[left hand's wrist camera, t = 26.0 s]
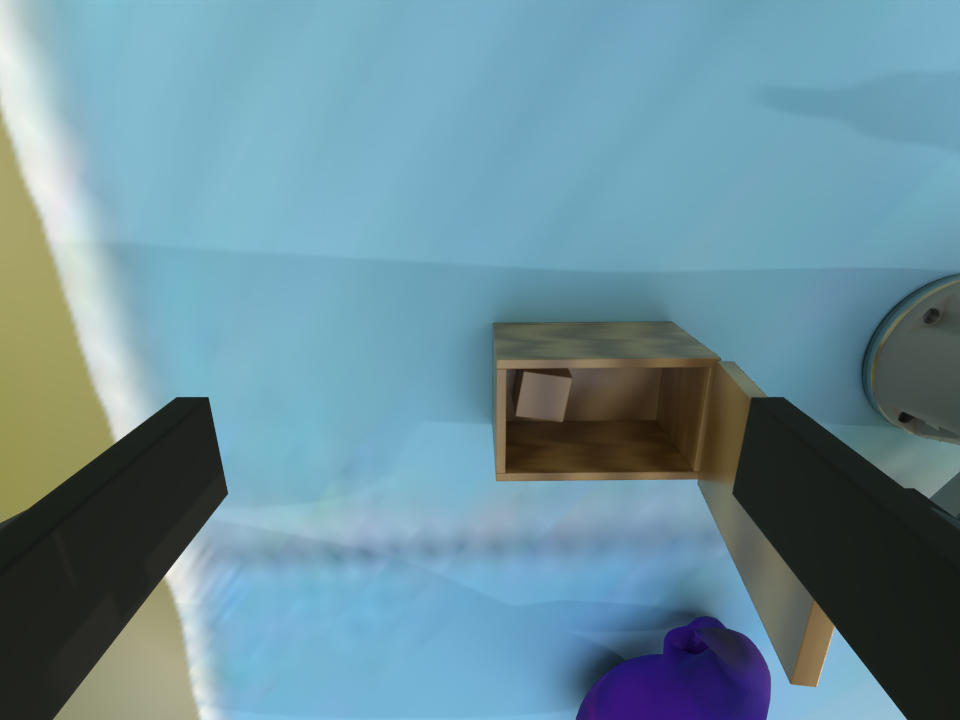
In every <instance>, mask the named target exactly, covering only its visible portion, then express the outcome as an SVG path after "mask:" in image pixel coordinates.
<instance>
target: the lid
mask: <svg viewBox="0 0 960 720" xmlns="http://www.w3.org/2000/svg"><path fill="white" fill-rule="evenodd" d="M751 397H768V396H767V395H766V394H765V393H764V392H763V391H762V390H761V389H760V388H759V387H758V386H757V385H756V384H755V383H754V382H753V381H752V380H751V379H750V378H749V377H748V376H747V375H746V374H745V372H744V371H743V370H742V369H741V368H740V367H739V366H738V365H737V364H736V363H735V362H729V361H717V365H716V372H715V378H714V384H713V390H712V396H711V403H710V409H709V415H708V421H707V427H706V434H705V440H704V446H703V452H702V459H701V465H700V471H699V477H698V486H699V488H700V490H701V492H702V494H703V497H704V499H705V501H706V503H707V505H708V507H709V509H710V512H711V514H712V516H713V518H714V520H715V522H716V525H717V527H718V529H719V531H720V533H721V535H722V537H723V540H724V542H725V544H726V546H727V548H728V550H729V553H730V555H731V557H732V559H733V561H734V563H735V565H736V568H737V570H738V572H739V574H740V576H741V578H742V581H743V583H744V585H745V587H746V589H747V591H748V593H749V596H750V598H751V600H752V602H753V604H754V606H755V609H756V611H757V613H758V615H759V617H760V619H761V621H762V624H763V626H764V628H765V630H766V632H767V634H768V637H769V639H770V641H771V643H772V645H773V647H774V649H775V652H776V654H777V656H778V658H779V660H780V662H781V665H782V667H783V669H784V671H785V673H786V675H787V677H788V680H789V682H790V684H792V685H801V686H810V687H817V685H818V681H819V678H820V675H821V671H822V668H823V665H824V661H825V658H826V655H827V651H828V648H829V645H830V641H831V638H832V635H833V631H834V628H835V626H834V625H833V623H832V622H831V621H830V619H829V618H828V617H827V616H826V614H825V613H824V612H823V610H822V609H821V608H820V607H819V605H818V604H817V603H816V601H815V600H814V599H813V598H812V596H811V595H810V594H809V592H808V591H807V590H806V589H805V587H804V586H803V585H802V583H801V582H800V581H799V579H798V578H797V577H796V576H795V574H794V573H793V572H792V570H791V569H790V568H789V567H788V565H787V564H786V563H785V561H784V560H783V559H782V558H781V556H780V555H779V554H778V552H777V551H776V550H775V549H774V547H773V546H772V545H771V543H770V542H769V541H768V540H767V538H766V537H765V536H764V534H763V533H762V532H761V531H760V529H759V528H758V527H757V525H756V524H755V523H754V522H753V520H752V519H751V518H750V516H749V515H748V514H747V512H746V511H745V510H744V509H743V507H742V506H741V505H740V503H739V502H738V501H737V500H736V498H735V497H734V496H733V494H732V491H733V486H734V481H735V476H736V471H737V466H738V462H739V457H740V452H741V447H742V442H743V437H744V432H745V427H746V422H747V417H748V412H749V407H750V402H751ZM955 519H957V520H959V521H960V513H958V514H957V516H956V518H955Z"/></svg>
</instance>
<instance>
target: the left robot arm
mask: <svg viewBox="0 0 960 720" xmlns="http://www.w3.org/2000/svg"><path fill="white" fill-rule="evenodd" d="M227 494H228V491H227V486H226V481H225V476H224V471H223V466H222V462H221V457H220V452H219V447H218V442H217V437H216V432H215V427H214V422H213V417H212V412H211V407H210V402H209V397H176V398H175V399H174V400H172V401H171V402H170V403H168V404H167V405H166V406H164V407H163V408H162V409H160V410H159V411H158V412H157V413H155V414H154V415H153V416H151V417H150V418H149V419H147V420H146V421H145V422H143V423H142V424H141V425H139V426H138V427H137V428H135V429H134V430H133V431H131V432H130V433H129V434H127V435H126V436H125V437H123V438H122V439H121V440H119V441H118V442H117V443H115V444H114V445H113V446H111V447H110V448H109V449H107V450H106V451H105V452H103V453H102V454H101V455H99V456H98V457H97V458H95V459H94V460H93V461H91V462H90V463H89V464H87V465H86V466H85V467H83V468H82V469H81V470H79V471H78V472H77V473H75V474H74V475H73V476H71V477H70V478H69V479H67V480H66V481H65V482H63V483H62V484H61V485H60V486H58V487H57V488H56V489H54V490H53V491H51V492H50V493H49V494H48V495H46V496H45V497H44V498H42V499H41V500H40V501H38V502H37V503H36V504H34V505H33V506H32V507H30V508H29V509H28V510H25V511H23V512H21V513H19V514H17V515H15V516H13V517H11V518H10V519H8V520H6V521H4V522H2V523H0V720H53V719H54V717H55V716H56V715H57V713H58V712H59V711H60V710H61V708H62V707H63V706H64V704H65V703H66V702H67V701H68V699H69V698H70V697H71V695H72V694H73V693H74V692H75V690H76V689H77V688H78V686H79V685H80V684H81V682H82V681H83V680H84V679H85V677H86V676H87V675H88V674H89V672H90V671H91V670H92V668H93V667H94V666H95V665H96V663H97V662H98V661H99V659H100V658H101V657H102V656H103V654H104V653H105V652H106V650H107V649H108V648H109V646H110V645H111V644H112V643H113V641H114V640H115V639H116V637H117V636H118V635H119V634H120V632H121V631H122V630H123V628H124V627H125V626H126V625H127V623H128V622H129V621H130V619H131V618H132V617H133V616H134V614H135V613H136V612H137V610H138V609H139V608H140V607H141V605H142V604H143V603H144V601H145V600H146V599H147V598H148V596H149V595H150V594H151V592H152V591H153V590H154V589H155V587H156V586H157V585H158V583H159V582H160V581H161V579H162V578H163V577H164V576H165V574H166V573H167V572H168V570H169V569H170V568H171V567H172V565H173V564H174V563H175V561H176V560H177V559H178V558H179V556H180V555H181V554H182V552H183V551H184V550H185V549H186V547H187V546H188V545H189V543H190V542H191V541H192V540H193V538H194V537H195V536H196V534H197V533H198V532H199V531H200V529H201V528H202V527H203V525H204V524H205V523H206V522H207V520H208V519H209V518H210V516H211V515H212V514H213V512H214V511H215V510H216V509H217V507H218V506H219V505H220V503H221V502H222V501H223V500H224V498H225V497H226V496H227ZM732 494H733V496H734V497H735V498H736V500H737V501H738V502H739V503H740V505H741V506H742V507H743V509H744V510H745V511H746V512H747V514H748V515H749V516H750V518H751V519H752V520H753V522H754V523H755V524H756V525H757V527H758V528H759V529H760V531H761V532H762V533H763V534H764V536H765V537H766V538H767V540H768V541H769V542H770V543H771V545H772V546H773V547H774V549H775V550H776V551H777V552H778V554H779V555H780V556H781V558H782V559H783V560H784V561H785V563H786V564H787V565H788V567H789V568H790V569H791V570H792V572H793V573H794V574H795V576H796V577H797V578H798V579H799V581H800V582H801V583H802V585H803V586H804V587H805V589H806V590H807V591H808V592H809V594H810V595H811V596H812V598H813V599H814V600H815V601H816V603H817V604H818V605H819V607H820V608H821V609H822V610H823V612H824V613H825V614H826V616H827V617H828V618H829V619H830V621H831V622H832V623H833V625H834V626H835V627H836V628H837V630H838V631H839V632H840V634H841V635H842V636H843V637H844V639H845V640H846V641H847V643H848V644H849V645H850V646H851V648H852V649H853V650H854V652H855V653H856V654H857V656H858V657H859V658H860V659H861V661H862V662H863V663H864V665H865V666H866V667H867V668H868V670H869V671H870V672H871V674H872V675H873V676H874V677H875V679H876V680H877V681H878V683H879V684H880V685H881V686H882V688H883V689H884V690H885V692H886V693H887V694H888V695H889V697H890V698H891V699H892V701H893V702H894V703H895V704H896V706H897V707H898V708H899V710H900V711H901V712H902V713H903V715H904V716H905V717H906V719H907V720H960V521H959V520H957V519H955V518H953V517H951V516H949V515H947V514H945V513H943V512H941V511H939V510H937V509H935V508H930V507H928V506H927V505H926V504H924V503H923V502H922V501H920V500H919V499H918V498H916V497H915V496H914V495H912V494H911V493H910V492H908V491H907V490H906V489H905V488H903V487H902V486H901V485H899V484H898V483H897V482H895V481H894V480H893V479H891V478H890V477H889V476H887V475H886V474H885V473H883V472H882V471H881V470H879V469H878V468H877V467H875V466H874V465H873V464H871V463H870V462H869V461H867V460H866V459H865V458H863V457H862V456H861V455H859V454H858V453H857V452H855V451H854V450H853V449H851V448H850V447H849V446H847V445H846V444H845V443H843V442H842V441H841V440H839V439H838V438H837V437H835V436H834V435H833V434H831V433H830V432H829V431H827V430H826V429H825V428H823V427H822V426H821V425H819V424H818V423H817V422H815V421H814V420H813V419H811V418H810V417H809V416H807V415H806V414H805V413H803V412H802V411H801V410H800V409H798V408H797V407H796V406H794V405H793V404H792V403H790V402H789V401H788V400H786V399H785V398H784V397H751V402H750V407H749V412H748V417H747V422H746V427H745V432H744V437H743V442H742V447H741V452H740V457H739V462H738V466H737V471H736V476H735V481H734V486H733V491H732Z"/></svg>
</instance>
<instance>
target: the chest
mask: <svg viewBox="0 0 960 720" xmlns="http://www.w3.org/2000/svg"><path fill="white" fill-rule="evenodd" d="M717 361H721V358H720V357H719V356H718V355H716V354H715V353H714V352H712V351H711V350H710V349H708V348H707V347H706V346H704V345H703V344H701V343H700V342H699V341H697V340H696V339H695V338H693V337H692V336H691V335H689V334H688V333H687V332H685V331H684V330H683V329H681V328H680V327H679V326H677V325H676V324H675V323H673V322H587V323H493V361H492V427H493V442H494V457H495V472H496V481H564V480H673V479H698V477H699V471H700V465H701V459H702V452H703V446H704V440H705V434H706V427H707V421H708V415H709V409H710V403H711V396H712V390H713V384H714V378H715V372H716V365H717ZM536 368H568V369H569V371H570V373H571V376H572V378H573V380H572V384H571V389H570V393H569V397H568V402H567V406H566V411H565V415H564V419H563V422H556V421H548V420H541V419H533V418H526V417H518V416H515V412H514V406H513V400H512V393H513V387H514V382H515V377H516V371H517V369H536Z"/></svg>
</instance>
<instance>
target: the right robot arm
mask: <svg viewBox="0 0 960 720" xmlns="http://www.w3.org/2000/svg"><path fill="white" fill-rule="evenodd" d="M863 384H864V390H865V393H866V396H867V398H868V400H869V402H870V404H871V405H872V407H873V408H874V410H875V411H876V412H877V413H878V414H879V415H880V416H881V417H883V418H884V419H885V420H887V421H889V422H890V423H892V424H894V425H895V426H897V427H899V428H900V429H902V430H904V431H906V432H909V433H912V434H915V435H918V436H921V437H924V438H929V439H934V440H938V441H940V442H941V441H943V442H948V443H953V444H958V445H960V274H959V275H954V276H950V277H946V278H943V279H940V280H938V281H935V282H933V283H931V284H928V285H926V286H924V287H923V288H921V289H919V290H917V291H916V292H914V293H913V294H911V295H910V296H909V297H907V298H906V299H905V300H903V301H902V302H901V303H900V304H899V305H898V306H897V307H895V308H894V309H893V311H892V312H891V313H890V314H889V315H888V316H887V317H886V318H885V320H884V321H883V322H882V324H881V325H880V326H879V328H878V329H877V331H876V333H875V334H874V336H873V338H872V340H871V342H870V344H869V347H868V350H867V352H866V356H865V360H864V366H863ZM905 489H906V490H907V491H908V492H910V493H911V494H912V495H914V496H915V497H916V498H918V499H919V500H920V501H922V502H923V503H924V504H926V505H927V506H928V507H930V508H935V509H937V510H939V511H941V512H943V513H945V514H947V515H949V516H951V517H953V518H956V516H957V514H958V513H960V472H959V473H958V474H957V475H956V476H955V477H953V478H952V479H951V480H950V481H949V482H948V483H947V484H945V485H944V486H943V487H942V488H941V489H940V490H939V491H938V492H936V493H935V494H934V495H933V496H932V497H931V498H930V499H928V498H927V497H926V496H924V495H923V494H921V493H920V492H919V491H917V490H916V489H914V488H905Z"/></svg>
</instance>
